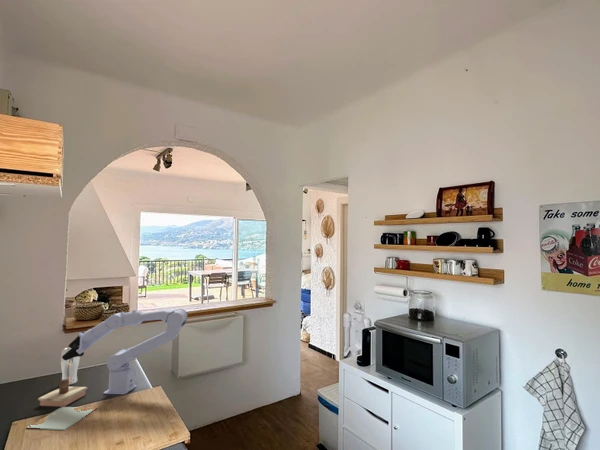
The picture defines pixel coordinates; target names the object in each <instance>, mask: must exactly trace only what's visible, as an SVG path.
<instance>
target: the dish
mask: <svg viewBox="0 0 600 450" xmlns="http://www.w3.org/2000/svg"><path fill="white" fill-rule="evenodd" d="M85 395H86V390H84V391H82V392H81V393H79V394H77V395H75V396H73V397H71V398H70V399H68V400H66V401H45V400H39V406H41V407H59V408H61V407H67V406H69V404H72V403H73V402H75V401H76V400H78V399H80V398H83V397H84V396H85Z"/></svg>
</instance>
